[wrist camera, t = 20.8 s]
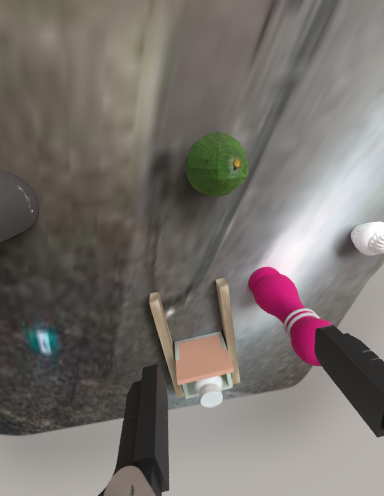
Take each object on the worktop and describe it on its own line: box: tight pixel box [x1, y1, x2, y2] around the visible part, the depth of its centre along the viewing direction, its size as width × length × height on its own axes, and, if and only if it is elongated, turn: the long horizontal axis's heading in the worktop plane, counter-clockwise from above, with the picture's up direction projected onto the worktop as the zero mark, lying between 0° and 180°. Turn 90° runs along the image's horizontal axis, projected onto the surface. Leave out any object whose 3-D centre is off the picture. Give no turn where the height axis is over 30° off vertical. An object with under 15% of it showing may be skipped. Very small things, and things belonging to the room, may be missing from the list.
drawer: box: [174, 331, 234, 399], centre depth 44 cm, size 10×11×9 cm
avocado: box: [186, 132, 249, 196], centre depth 29 cm, size 8×8×12 cm
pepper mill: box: [249, 267, 332, 366], centre depth 34 cm, size 7×7×20 cm
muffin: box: [350, 222, 384, 255], centre depth 39 cm, size 6×6×7 cm
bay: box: [149, 278, 240, 398], centre depth 45 cm, size 14×25×3 cm, turn 10°
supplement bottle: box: [194, 375, 223, 407], centre depth 43 cm, size 5×5×10 cm
